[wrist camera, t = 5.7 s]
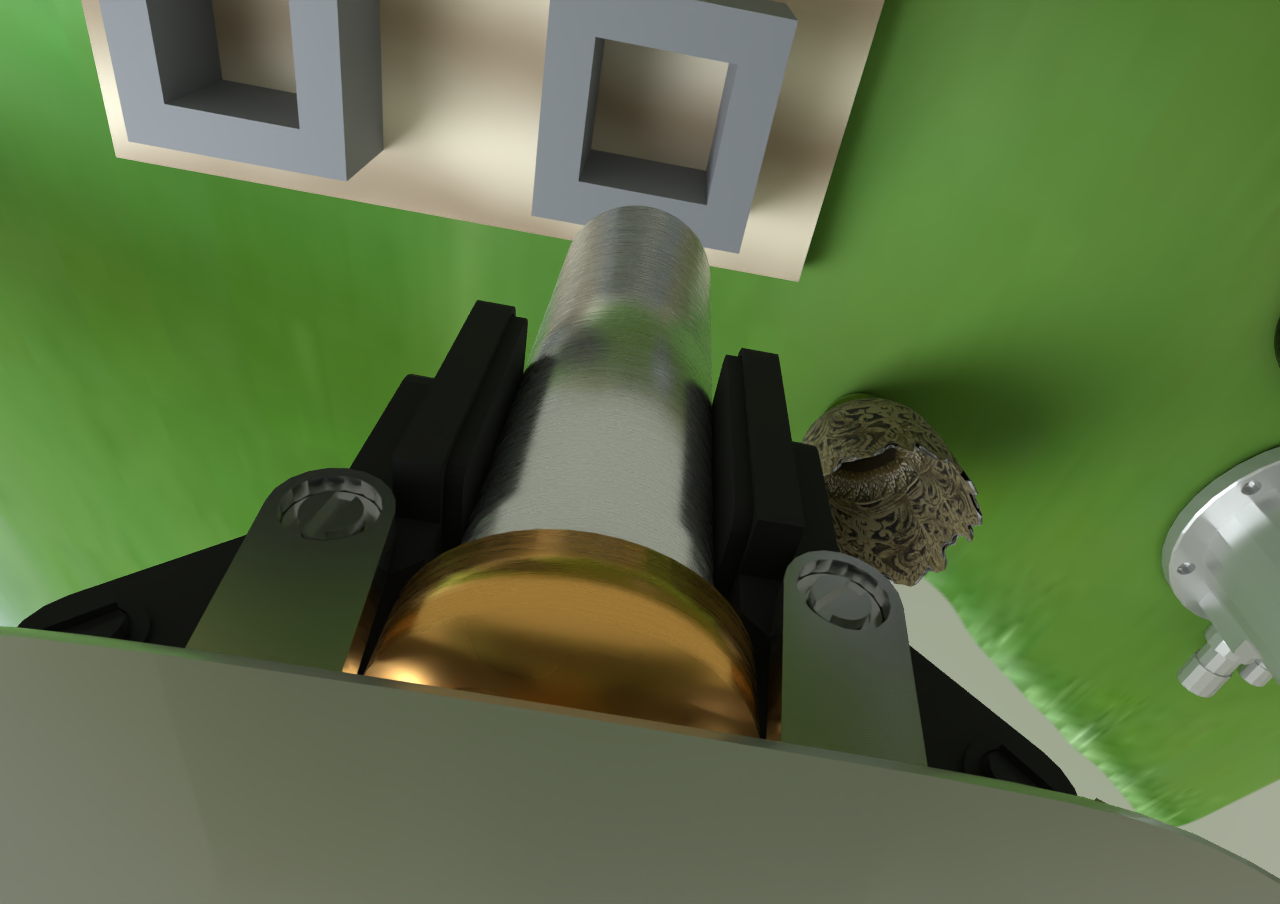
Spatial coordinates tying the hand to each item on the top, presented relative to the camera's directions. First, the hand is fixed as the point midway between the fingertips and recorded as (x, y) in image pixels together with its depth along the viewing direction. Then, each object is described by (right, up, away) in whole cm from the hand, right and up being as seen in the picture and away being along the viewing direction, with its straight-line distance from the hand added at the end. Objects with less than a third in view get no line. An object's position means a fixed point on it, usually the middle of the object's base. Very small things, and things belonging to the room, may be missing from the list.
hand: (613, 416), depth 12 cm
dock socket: (-13, +15, +16) cm, 25 cm away
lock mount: (+1, +12, +17) cm, 21 cm away
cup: (+11, +1, +27) cm, 29 cm away
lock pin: (0, +3, +4) cm, 5 cm away
